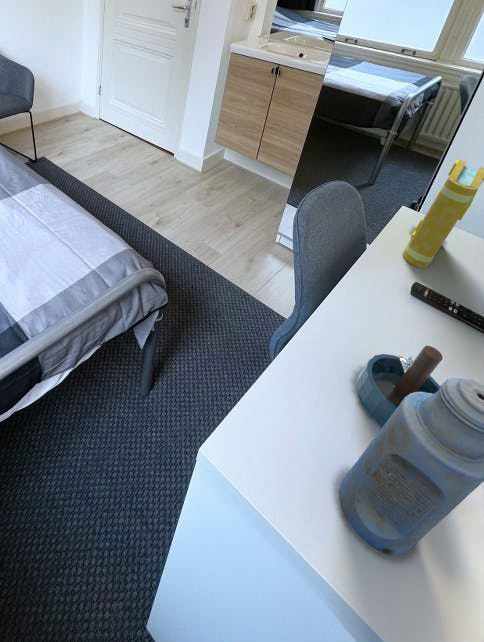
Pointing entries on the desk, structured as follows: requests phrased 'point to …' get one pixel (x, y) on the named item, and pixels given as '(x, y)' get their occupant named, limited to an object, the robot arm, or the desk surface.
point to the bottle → (417, 467)
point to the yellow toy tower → (444, 213)
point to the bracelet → (405, 364)
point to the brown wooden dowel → (416, 374)
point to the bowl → (390, 371)
